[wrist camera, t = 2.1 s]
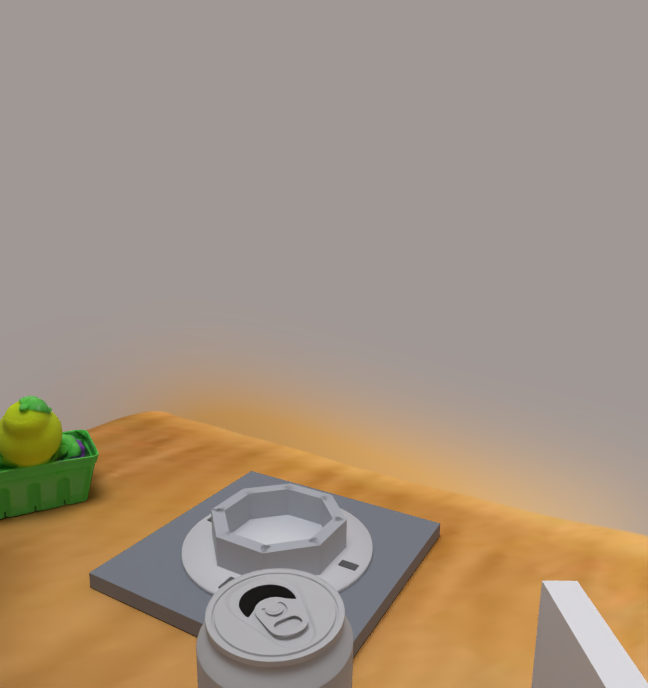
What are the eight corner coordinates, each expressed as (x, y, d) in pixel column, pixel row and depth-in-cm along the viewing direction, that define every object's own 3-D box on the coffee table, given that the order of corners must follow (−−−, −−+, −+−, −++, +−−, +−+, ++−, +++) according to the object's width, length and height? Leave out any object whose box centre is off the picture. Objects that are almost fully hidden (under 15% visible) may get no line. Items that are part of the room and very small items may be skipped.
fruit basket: (90, 472, 63) (81, 369, 61) (106, 509, 56) (97, 393, 53) (-36, 497, 57) (-51, 385, 55) (-36, 542, 50) (-54, 414, 47)
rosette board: (90, 587, 44) (86, 538, 43) (251, 481, 61) (250, 445, 60) (325, 696, 35) (326, 637, 34) (439, 536, 52) (442, 493, 51)
